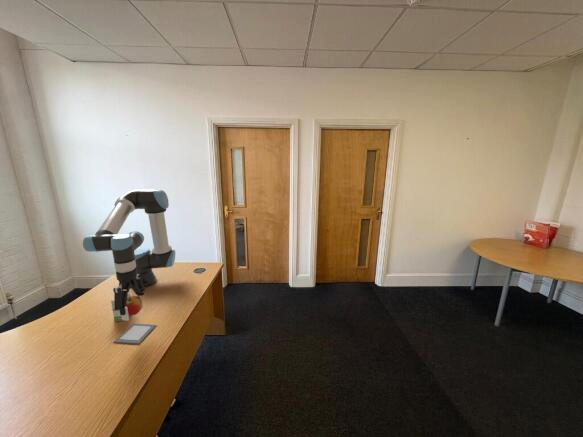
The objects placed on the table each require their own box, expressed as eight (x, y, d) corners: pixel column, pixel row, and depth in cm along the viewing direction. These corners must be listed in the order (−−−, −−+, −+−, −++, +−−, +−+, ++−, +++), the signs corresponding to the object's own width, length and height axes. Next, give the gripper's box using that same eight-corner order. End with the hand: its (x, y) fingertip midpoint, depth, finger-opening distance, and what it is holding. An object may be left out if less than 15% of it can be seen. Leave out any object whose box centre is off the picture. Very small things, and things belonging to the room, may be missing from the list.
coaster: (133, 324, 113) (133, 323, 113) (156, 325, 112) (156, 324, 112) (113, 342, 101) (113, 341, 101) (139, 344, 101) (139, 343, 100)
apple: (146, 307, 109) (143, 289, 107) (139, 318, 101) (136, 299, 99) (127, 309, 107) (124, 291, 105) (118, 320, 100) (115, 301, 97)
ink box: (124, 320, 115) (121, 300, 113) (113, 321, 115) (110, 301, 112) (133, 310, 124) (130, 291, 121) (123, 310, 123) (120, 291, 120)
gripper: (135, 259, 109) (141, 299, 115) (96, 280, 89) (106, 328, 94) (150, 260, 109) (155, 300, 114) (114, 281, 89) (123, 330, 94)
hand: (133, 313), depth 104 cm, fingers closed on apple, 8 cm apart
